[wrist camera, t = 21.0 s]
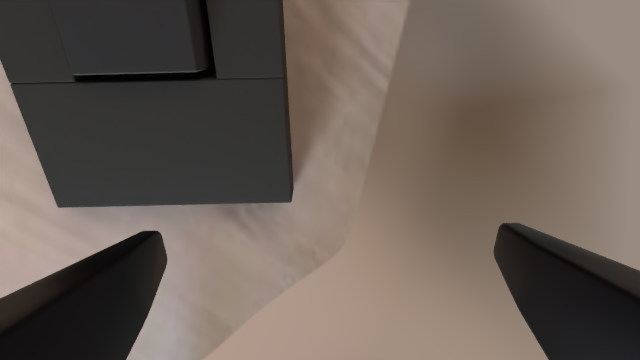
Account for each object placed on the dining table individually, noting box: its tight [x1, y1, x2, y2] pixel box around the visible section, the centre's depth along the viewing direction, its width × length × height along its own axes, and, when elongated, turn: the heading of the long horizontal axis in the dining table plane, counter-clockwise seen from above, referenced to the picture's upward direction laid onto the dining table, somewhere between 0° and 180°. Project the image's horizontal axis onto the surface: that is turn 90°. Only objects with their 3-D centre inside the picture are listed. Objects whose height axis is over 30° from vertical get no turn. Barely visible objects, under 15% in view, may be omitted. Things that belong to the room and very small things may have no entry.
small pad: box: [49, 0, 215, 75], centre depth 16 cm, size 6×6×3 cm
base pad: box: [0, 0, 294, 208], centre depth 18 cm, size 14×14×2 cm
